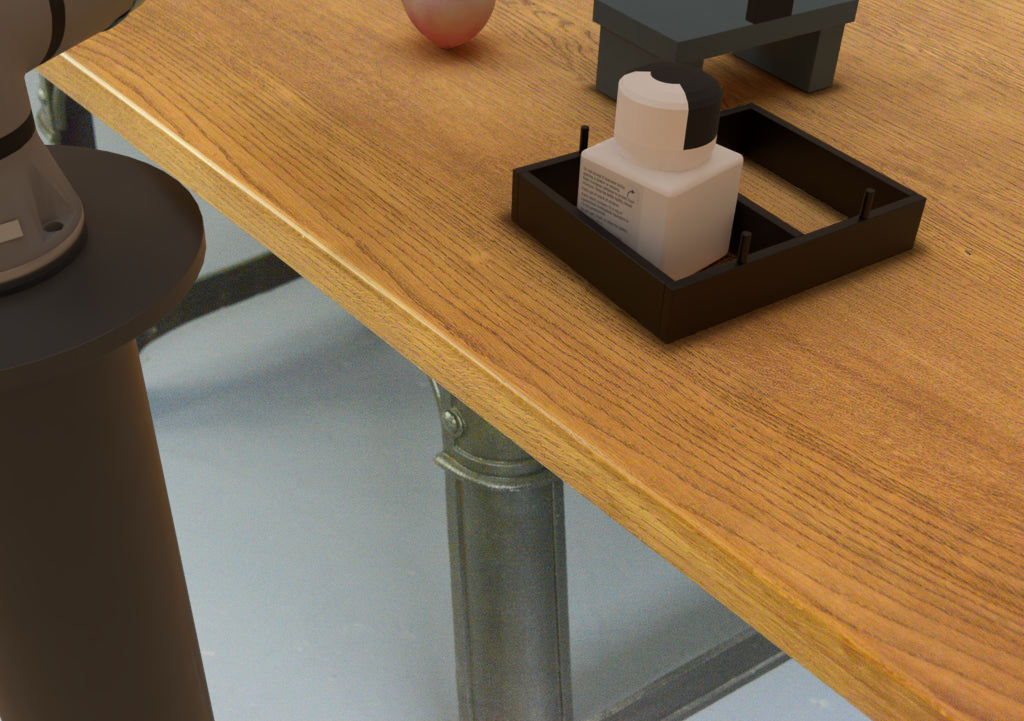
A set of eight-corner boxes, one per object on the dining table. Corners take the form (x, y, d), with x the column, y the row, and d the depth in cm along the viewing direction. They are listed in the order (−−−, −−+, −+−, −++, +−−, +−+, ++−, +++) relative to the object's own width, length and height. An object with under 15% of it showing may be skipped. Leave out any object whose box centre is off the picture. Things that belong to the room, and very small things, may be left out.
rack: (510, 218, 82) (513, 142, 79) (743, 148, 92) (755, 77, 89) (666, 344, 71) (677, 261, 67) (913, 248, 81) (935, 171, 77)
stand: (587, 87, 101) (593, -3, 96) (756, 45, 110) (770, -39, 105) (666, 136, 94) (678, 42, 89) (840, 87, 103) (859, -2, 98)
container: (643, 213, 84) (663, 41, 76) (729, 255, 79) (760, 77, 71) (571, 251, 79) (584, 72, 71) (658, 298, 75) (682, 113, 67)
